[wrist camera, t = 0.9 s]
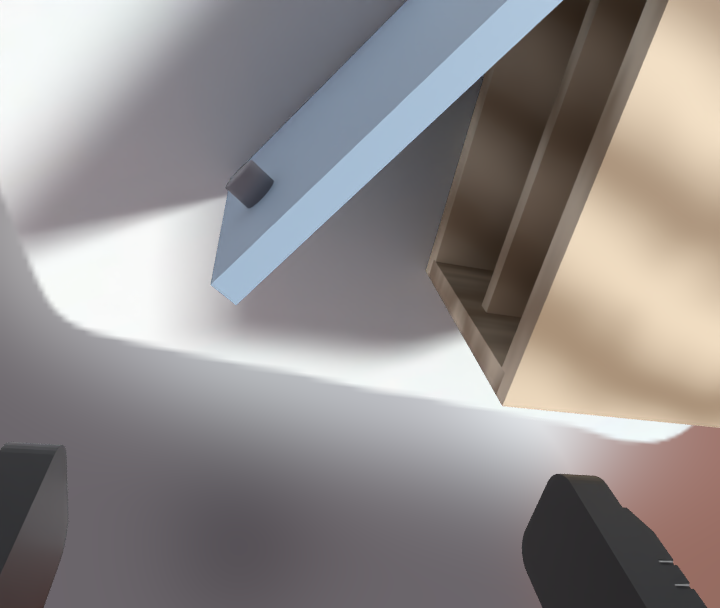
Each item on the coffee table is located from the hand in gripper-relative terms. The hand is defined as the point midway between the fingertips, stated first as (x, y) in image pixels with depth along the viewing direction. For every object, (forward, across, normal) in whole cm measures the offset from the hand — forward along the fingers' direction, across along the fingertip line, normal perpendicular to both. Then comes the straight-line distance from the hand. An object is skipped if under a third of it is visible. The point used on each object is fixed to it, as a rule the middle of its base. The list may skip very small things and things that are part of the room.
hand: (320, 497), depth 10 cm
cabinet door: (+26, -10, -13) cm, 31 cm away
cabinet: (+26, -16, -3) cm, 31 cm away
